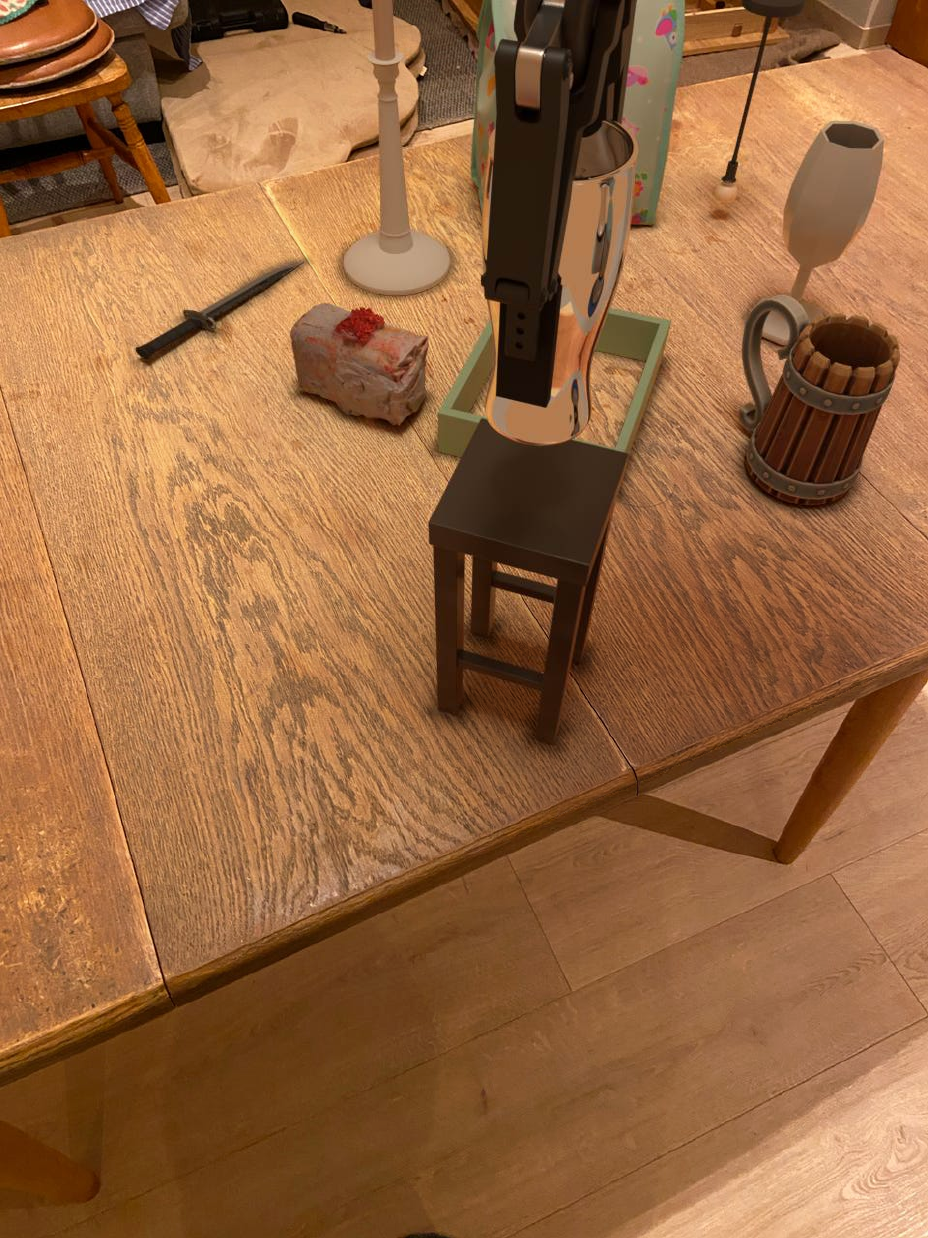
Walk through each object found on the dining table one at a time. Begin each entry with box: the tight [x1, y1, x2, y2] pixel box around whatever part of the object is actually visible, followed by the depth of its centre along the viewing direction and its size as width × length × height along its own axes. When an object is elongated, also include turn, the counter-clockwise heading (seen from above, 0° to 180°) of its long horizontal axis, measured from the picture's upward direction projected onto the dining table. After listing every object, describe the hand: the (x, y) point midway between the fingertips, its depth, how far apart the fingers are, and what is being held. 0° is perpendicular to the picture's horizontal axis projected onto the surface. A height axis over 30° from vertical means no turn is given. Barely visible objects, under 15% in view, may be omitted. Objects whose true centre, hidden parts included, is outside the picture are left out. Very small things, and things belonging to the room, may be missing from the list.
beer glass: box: [481, 118, 638, 446], centre depth 45 cm, size 7×7×15 cm
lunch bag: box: [470, 0, 686, 226], centre depth 106 cm, size 23×16×27 cm
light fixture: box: [714, 0, 808, 205], centre depth 105 cm, size 7×7×25 cm
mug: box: [737, 293, 901, 506], centre depth 83 cm, size 16×11×15 cm
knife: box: [135, 261, 304, 360], centre depth 102 cm, size 25×2×5 cm
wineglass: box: [748, 120, 885, 346], centre depth 93 cm, size 9×9×21 cm
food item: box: [289, 302, 430, 427], centre depth 90 cm, size 14×8×10 cm, turn 64°
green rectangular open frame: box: [437, 307, 672, 458], centre depth 91 cm, size 18×22×5 cm
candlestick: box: [343, 0, 451, 296], centre depth 96 cm, size 13×13×30 cm
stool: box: [427, 418, 629, 745], centre depth 64 cm, size 10×10×22 cm
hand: (544, 352), depth 48 cm, fingers closed on beer glass, 7 cm apart
